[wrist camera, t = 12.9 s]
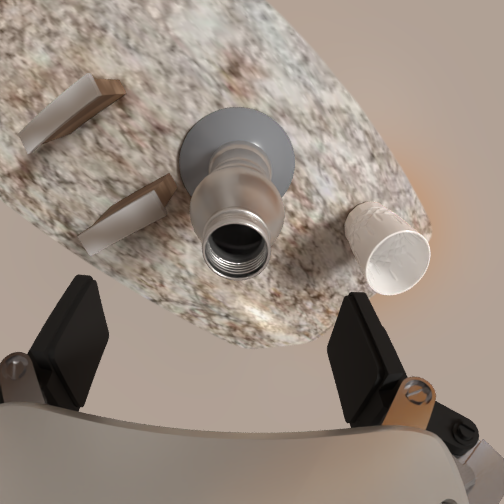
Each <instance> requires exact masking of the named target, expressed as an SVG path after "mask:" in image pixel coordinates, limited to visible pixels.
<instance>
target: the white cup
mask: <svg viewBox="0 0 504 504" xmlns="http://www.w3.org/2000/svg"><path fill="white" fill-rule="evenodd" d="M344 225H345V236H346V238H347V240H348V242H349V244H350V247H351V250H352V252H353V254H354V256H355V258H356V260H357V262H358V264H359V266H360V268H361V271H362V273H363V275H364V277H365V279H366V281H367V283H368V285H369V286H370V288H371V289H372V290H374V291H375V292H377V293H379V294H382V295H395V294H400V293H402V292H404V291H407V290H408V289H410V288H411V287H413V286H414V285H415V284H416V283H417V282H418V281H419V280H420V279H421V278H422V276H423V275H424V274H425V272H426V270H427V268H428V265H429V261H430V247H429V244H428V242H427V240H426V239H425V238H424V237H423V236H422V235H421V234H420V233H419V232H418V231H416V230H415V229H414V228H413V227H412V226H410V225H409V224H408V223H407V222H406V221H404V220H403V219H402V218H401V217H399V216H398V215H397V214H395V213H394V212H393V211H390V210H389V209H387V208H386V207H385V206H383V205H382V204H380V203H379V202H370V201H367V202H365V203H362V204H359V205H357V206H356V207H355V208H354V209H353V210H352V211H351V212H350V213H349V214H348V217H347V219H346V222H345V224H344Z"/></svg>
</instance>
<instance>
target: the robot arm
mask: <svg viewBox="0 0 504 504" xmlns="http://www.w3.org/2000/svg"><path fill="white" fill-rule="evenodd" d="M108 338H109V332H108V327H107V323H106V320H105V316H104V312H103V308H102V304H101V299H100V295H99V291H98V286H97V282H96V281H95V280H93V278H92V277H91V276H88V275H76V276H75V278H74V279H73V281H72V282H71V284H70V285H69V287H68V288H67V290H66V291H65V293H64V294H63V296H62V297H61V299H60V300H59V302H58V303H57V305H56V307H55V308H54V310H53V311H52V313H51V315H50V316H49V318H48V319H47V321H46V323H45V324H44V326H43V328H42V329H41V331H40V333H39V334H38V336H37V338H36V340H35V341H34V343H33V345H32V347H31V349H30V350H29V352H28V354H25V353H22V352H15V353H11V354H9V355H8V356H6V357H5V358H4V359H3V360H2V362H1V363H0V504H499V502H500V501H501V499H502V497H503V496H504V458H503V457H502V456H501V455H500V454H499V453H498V452H497V451H495V450H494V449H493V448H492V447H491V446H490V445H489V444H488V443H487V442H486V441H485V440H484V439H483V440H482V441H480V440H479V434H478V429H477V427H476V425H475V424H474V423H473V422H472V421H471V420H470V419H468V418H466V417H464V416H462V415H460V414H459V413H457V412H455V411H453V410H451V409H449V408H447V407H446V406H444V405H442V404H440V403H438V402H437V401H435V400H436V393H435V390H434V388H433V386H432V385H431V384H430V383H429V382H428V381H426V380H425V379H423V378H420V377H414V376H412V377H407V375H406V373H405V371H404V368H403V366H402V364H401V362H400V360H399V358H398V355H397V353H396V351H395V349H394V347H393V345H392V343H391V340H390V338H389V336H388V334H387V332H386V330H385V329H384V327H383V326H382V325H381V323H380V321H379V319H378V317H377V315H376V313H375V311H374V309H373V307H372V305H371V303H370V301H369V299H368V297H367V295H366V293H364V292H350V293H349V295H348V296H345V297H344V299H343V302H342V305H341V308H340V311H339V314H338V317H337V320H336V323H335V326H334V329H333V331H332V334H331V337H330V340H329V343H328V346H327V353H328V357H329V361H330V364H331V368H332V371H333V375H334V379H335V383H336V386H337V390H338V394H339V398H340V402H341V406H342V409H343V414H344V418H345V421H346V422H347V423H350V426H351V428H347V429H336V430H322V431H307V432H283V433H239V432H215V431H200V430H188V429H178V428H169V427H160V426H152V425H146V424H139V423H133V422H126V421H121V420H116V419H111V418H106V417H101V416H96V415H91V414H86V413H82V412H79V409H80V407H83V406H84V404H85V402H86V399H87V396H88V393H89V390H90V387H91V384H92V381H93V379H94V376H95V373H96V370H97V368H98V365H99V362H100V360H101V357H102V354H103V352H104V349H105V347H106V344H107V342H108Z"/></svg>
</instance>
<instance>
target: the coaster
mask: <svg viewBox="0 0 504 504" xmlns="http://www.w3.org/2000/svg"><path fill="white" fill-rule="evenodd" d="M232 141H247V142H250V143H253V144H255V145H257V146H258V147H260V148H261V149H262V150H263V151H264V152H265V153H266V154H267V156H268V158H269V160H270V162H271V166H272V178H271V181H272V183H273V184H274V185H275V187H276V188H277V190H278V191H279V193H280V196H281V198H282V197H283V195H284V194H285V192H286V191H287V189H288V187H289V186H290V184H291V181H292V178H293V174H294V168H295V157H294V151H293V147H292V144H291V141H290V139H289V137H288V136H287V134H286V132H285V131H284V130H283V128H282V127H281V126H280V125H279V124H278V123H277V122H276V121H275V120H273V119H272V118H271V117H269V116H268V115H266V114H264V113H262V112H260V111H257V110H254V109H250V108H244V107H231V108H225V109H221V110H218V111H215V112H213V113H211V114H209V115H207V116H205V117H204V118H202V119H201V120H200V121H199V122H197V123H196V124H195V125H194V126H193V128H192V129H191V130H190V132H189V133H188V134H187V136H186V138H185V140H184V142H183V145H182V148H181V152H180V159H179V166H180V174H181V178H182V181H183V183H184V185H185V188H186V189H187V191H188V192H189V194H190V195H191V197H192V195H193V193H194V191H195V189H196V187H197V186H198V185H199V184H200V182H201V181H202V180H203V179H204V178H205V177H206V176H208V175H209V171H208V169H209V162H210V159H211V157H212V155H213V154H214V152H215V151H216V150H217V149H218V148H219V147H221V146H222V145H224V144H226V143H228V142H232Z"/></svg>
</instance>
